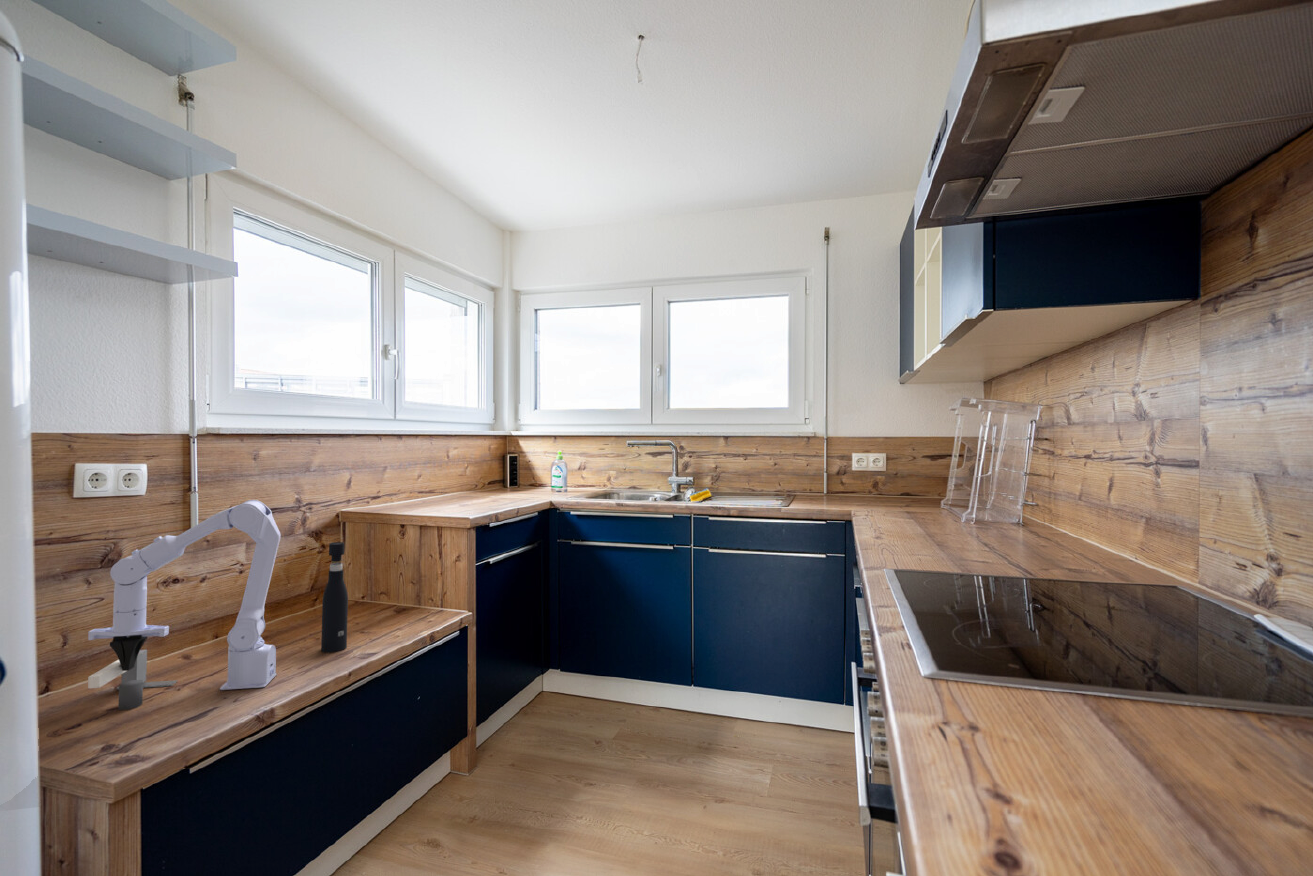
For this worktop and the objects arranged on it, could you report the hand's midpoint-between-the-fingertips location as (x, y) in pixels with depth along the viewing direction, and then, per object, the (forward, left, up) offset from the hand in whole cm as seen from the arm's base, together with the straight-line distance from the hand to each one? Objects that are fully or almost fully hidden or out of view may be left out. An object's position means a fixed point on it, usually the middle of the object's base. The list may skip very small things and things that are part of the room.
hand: (128, 669), depth 136 cm
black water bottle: (-36, -26, -7) cm, 45 cm away
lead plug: (-3, +5, -6) cm, 9 cm away
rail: (-1, -7, -6) cm, 9 cm away
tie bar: (+2, -1, -6) cm, 7 cm away
